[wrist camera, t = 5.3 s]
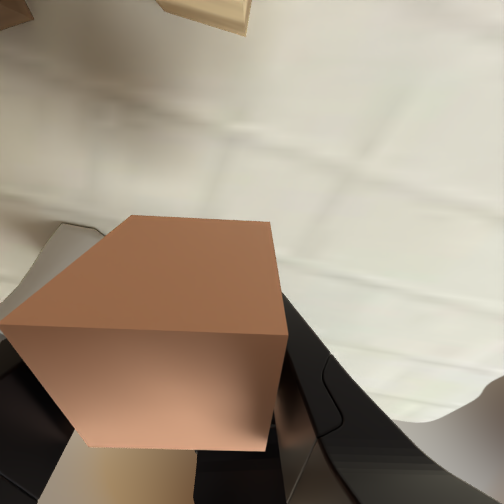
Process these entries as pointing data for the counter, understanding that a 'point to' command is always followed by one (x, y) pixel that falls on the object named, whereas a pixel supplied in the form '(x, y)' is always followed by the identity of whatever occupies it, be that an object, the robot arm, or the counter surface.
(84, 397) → the terracotta block
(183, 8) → the maple block
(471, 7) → the counter surface
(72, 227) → the flask
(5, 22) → the walnut block
